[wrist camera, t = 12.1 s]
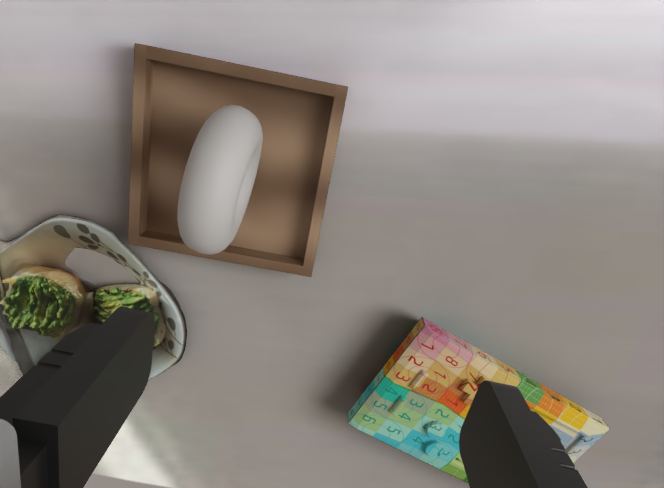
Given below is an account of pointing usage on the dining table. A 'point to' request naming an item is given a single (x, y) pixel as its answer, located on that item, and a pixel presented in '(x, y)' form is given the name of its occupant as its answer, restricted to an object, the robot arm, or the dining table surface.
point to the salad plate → (76, 293)
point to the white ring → (219, 179)
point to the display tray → (274, 165)
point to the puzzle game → (454, 399)
